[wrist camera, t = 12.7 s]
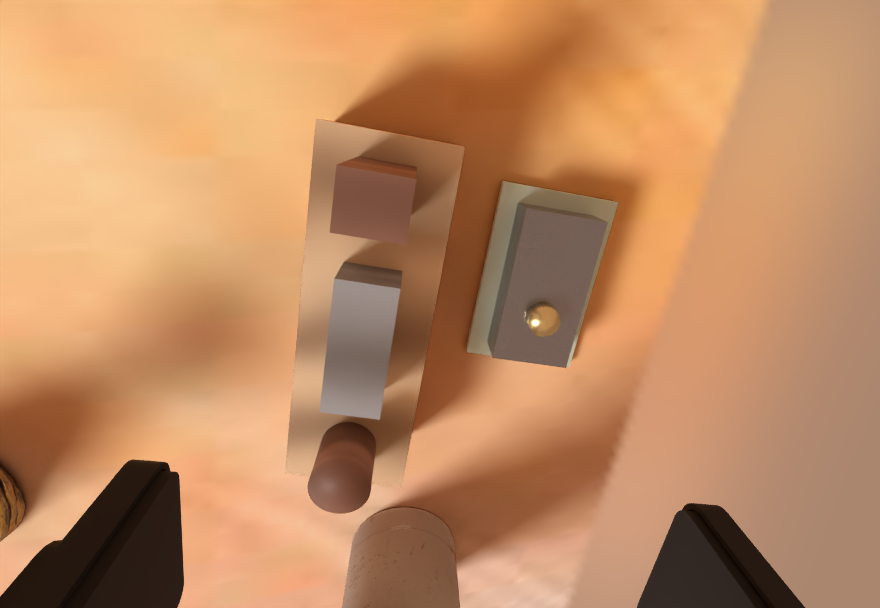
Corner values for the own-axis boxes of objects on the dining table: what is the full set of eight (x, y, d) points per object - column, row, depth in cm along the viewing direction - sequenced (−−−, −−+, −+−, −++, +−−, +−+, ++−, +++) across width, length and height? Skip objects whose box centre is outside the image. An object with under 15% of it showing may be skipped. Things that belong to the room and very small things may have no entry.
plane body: (333, 121, 27) (277, 113, 16) (456, 144, 27) (482, 151, 16) (303, 425, 33) (249, 565, 22) (403, 437, 34) (397, 579, 23)
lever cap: (517, 202, 28) (530, 210, 25) (592, 215, 28) (613, 224, 25) (487, 341, 31) (494, 363, 28) (555, 350, 31) (569, 374, 28)
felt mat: (502, 180, 28) (503, 181, 27) (614, 201, 29) (618, 202, 28) (465, 348, 32) (466, 352, 31) (566, 363, 32) (569, 367, 32)
